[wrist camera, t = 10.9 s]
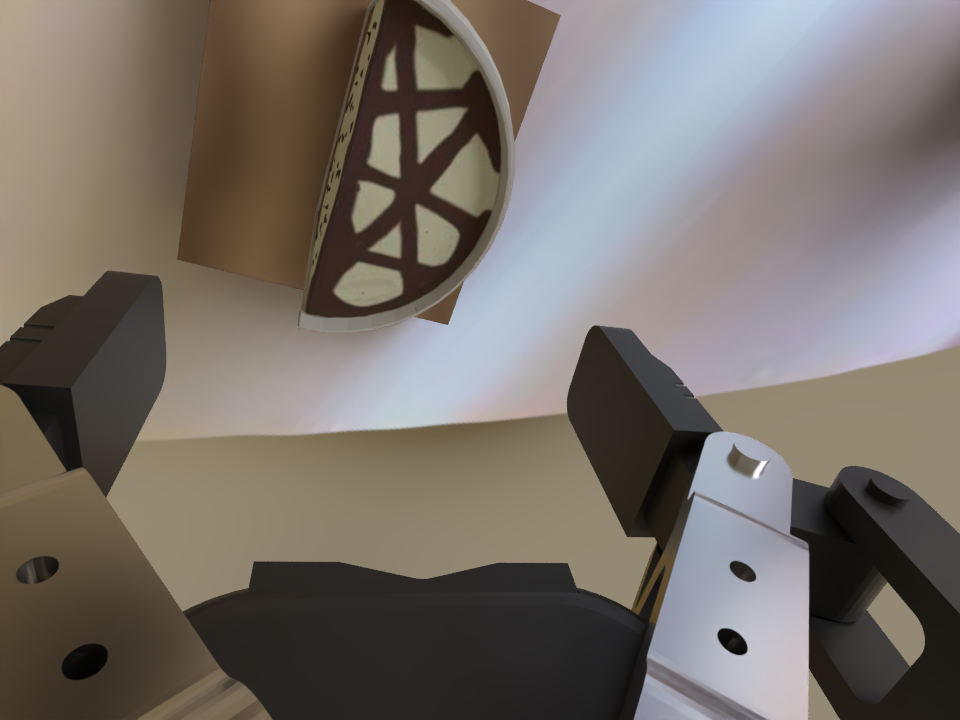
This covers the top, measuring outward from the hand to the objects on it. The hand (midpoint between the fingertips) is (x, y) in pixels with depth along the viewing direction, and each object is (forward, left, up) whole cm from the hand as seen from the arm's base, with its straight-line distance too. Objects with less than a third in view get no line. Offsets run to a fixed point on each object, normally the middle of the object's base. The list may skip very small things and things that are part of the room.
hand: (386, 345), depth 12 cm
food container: (-2, 0, -20) cm, 20 cm away
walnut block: (0, 0, -25) cm, 25 cm away
